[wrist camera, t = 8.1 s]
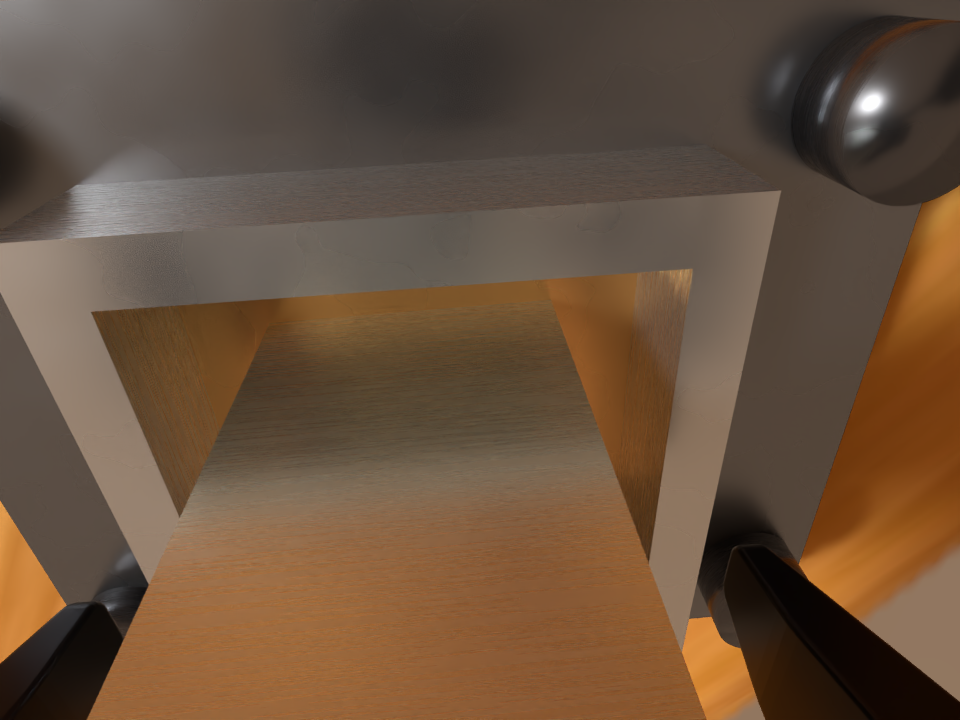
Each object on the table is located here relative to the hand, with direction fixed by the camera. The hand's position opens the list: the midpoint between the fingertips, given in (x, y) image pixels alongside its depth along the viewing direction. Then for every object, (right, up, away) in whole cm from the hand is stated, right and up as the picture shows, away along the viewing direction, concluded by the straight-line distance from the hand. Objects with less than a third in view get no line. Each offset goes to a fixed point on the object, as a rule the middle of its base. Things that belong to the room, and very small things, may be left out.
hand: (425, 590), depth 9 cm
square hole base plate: (0, +3, +5) cm, 6 cm away
